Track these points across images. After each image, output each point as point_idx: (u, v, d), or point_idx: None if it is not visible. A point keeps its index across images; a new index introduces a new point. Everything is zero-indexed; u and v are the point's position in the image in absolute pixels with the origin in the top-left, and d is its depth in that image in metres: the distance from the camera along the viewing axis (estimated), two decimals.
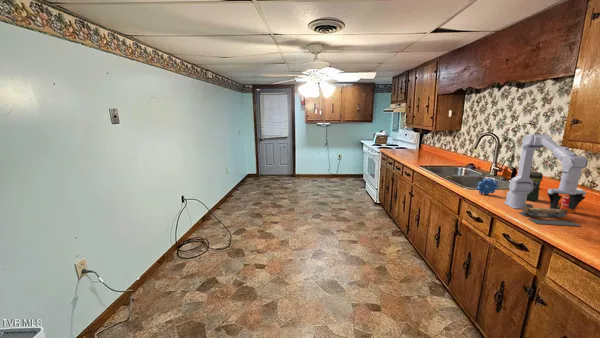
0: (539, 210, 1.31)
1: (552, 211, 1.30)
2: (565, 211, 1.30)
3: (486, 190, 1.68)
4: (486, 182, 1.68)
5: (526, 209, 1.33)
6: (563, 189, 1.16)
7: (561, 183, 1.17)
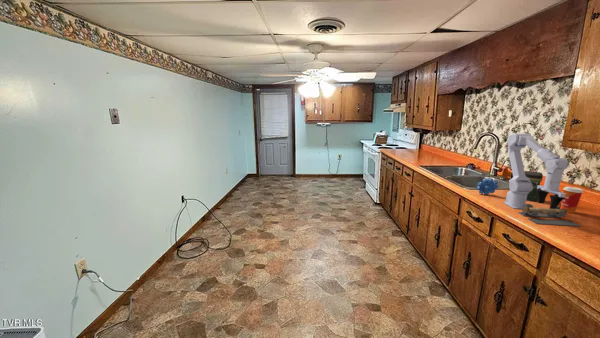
0: (539, 210, 1.31)
1: (552, 211, 1.31)
2: (565, 210, 1.30)
3: (486, 190, 1.68)
4: (486, 182, 1.68)
5: (526, 209, 1.33)
6: None
7: None
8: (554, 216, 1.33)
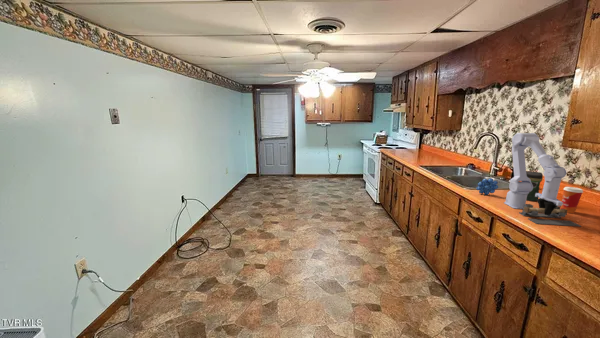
0: (539, 210, 1.31)
1: (552, 211, 1.31)
2: (565, 211, 1.30)
3: (486, 190, 1.68)
4: (486, 182, 1.68)
5: (526, 209, 1.33)
6: None
7: None
8: (554, 216, 1.33)
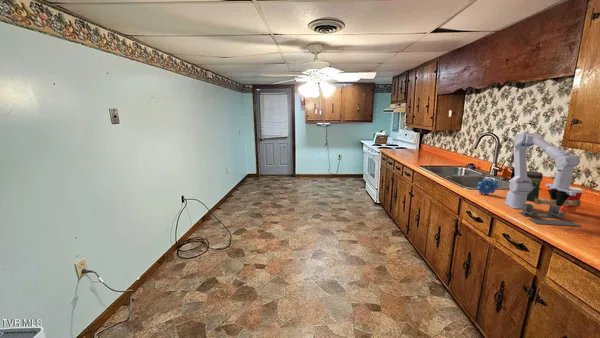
0: (550, 201, 1.25)
1: (564, 202, 1.24)
2: (578, 202, 1.23)
3: (486, 190, 1.68)
4: (486, 182, 1.68)
5: (537, 200, 1.26)
6: None
7: None
8: (554, 216, 1.33)
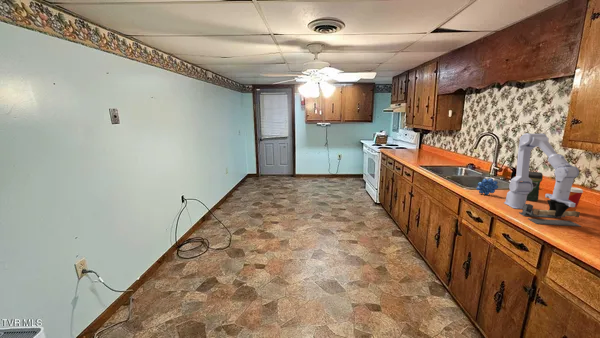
0: (550, 212, 1.25)
1: (563, 213, 1.24)
2: (577, 213, 1.23)
3: (486, 190, 1.68)
4: (486, 182, 1.68)
5: (536, 211, 1.26)
6: None
7: None
8: (554, 216, 1.33)
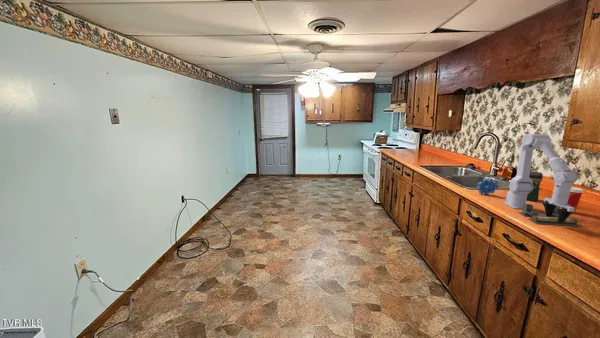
0: (548, 219, 1.26)
1: None
2: (575, 220, 1.24)
3: (486, 190, 1.68)
4: (486, 182, 1.68)
5: (534, 218, 1.27)
6: None
7: None
8: (554, 216, 1.33)
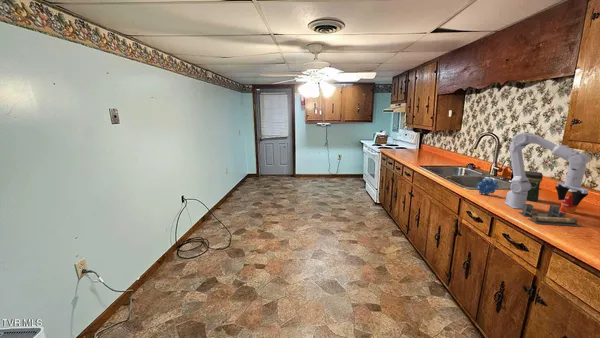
0: (548, 219, 1.26)
1: (562, 220, 1.25)
2: (575, 220, 1.24)
3: (486, 190, 1.68)
4: (486, 182, 1.68)
5: (534, 218, 1.27)
6: None
7: None
8: (554, 216, 1.33)
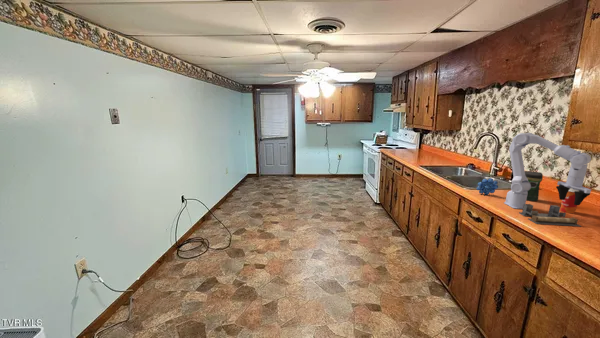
0: (548, 219, 1.26)
1: (562, 220, 1.25)
2: (575, 220, 1.24)
3: (486, 190, 1.68)
4: (486, 182, 1.68)
5: (534, 218, 1.27)
6: None
7: None
8: (554, 216, 1.33)
